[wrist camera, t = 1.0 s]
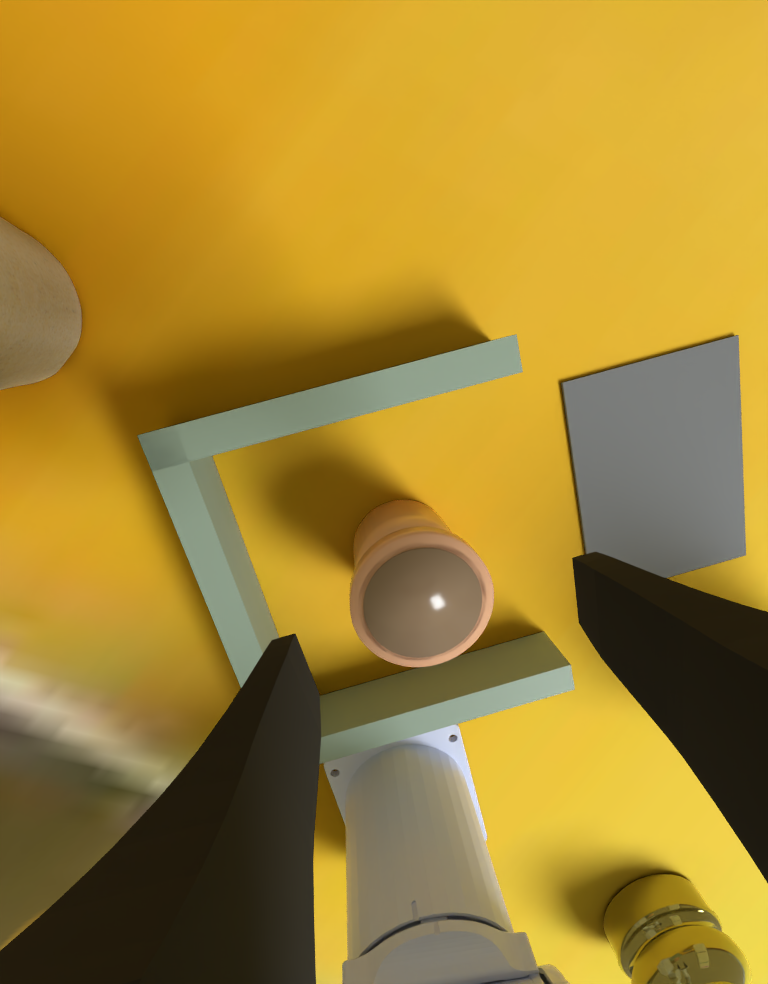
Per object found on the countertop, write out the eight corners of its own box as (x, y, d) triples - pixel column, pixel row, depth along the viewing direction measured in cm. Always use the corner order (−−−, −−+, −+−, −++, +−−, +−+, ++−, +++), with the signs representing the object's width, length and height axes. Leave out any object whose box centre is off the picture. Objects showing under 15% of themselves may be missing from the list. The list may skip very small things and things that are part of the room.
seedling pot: (464, 579, 24) (506, 646, 18) (363, 607, 23) (371, 685, 17) (442, 481, 22) (479, 518, 16) (334, 510, 22) (332, 559, 16)
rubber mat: (743, 554, 25) (745, 555, 25) (591, 597, 25) (593, 598, 24) (735, 335, 22) (738, 335, 21) (561, 382, 21) (562, 382, 21)
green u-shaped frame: (547, 653, 25) (574, 689, 22) (284, 729, 25) (277, 776, 22) (491, 340, 21) (516, 334, 18) (166, 427, 20) (137, 435, 17)
